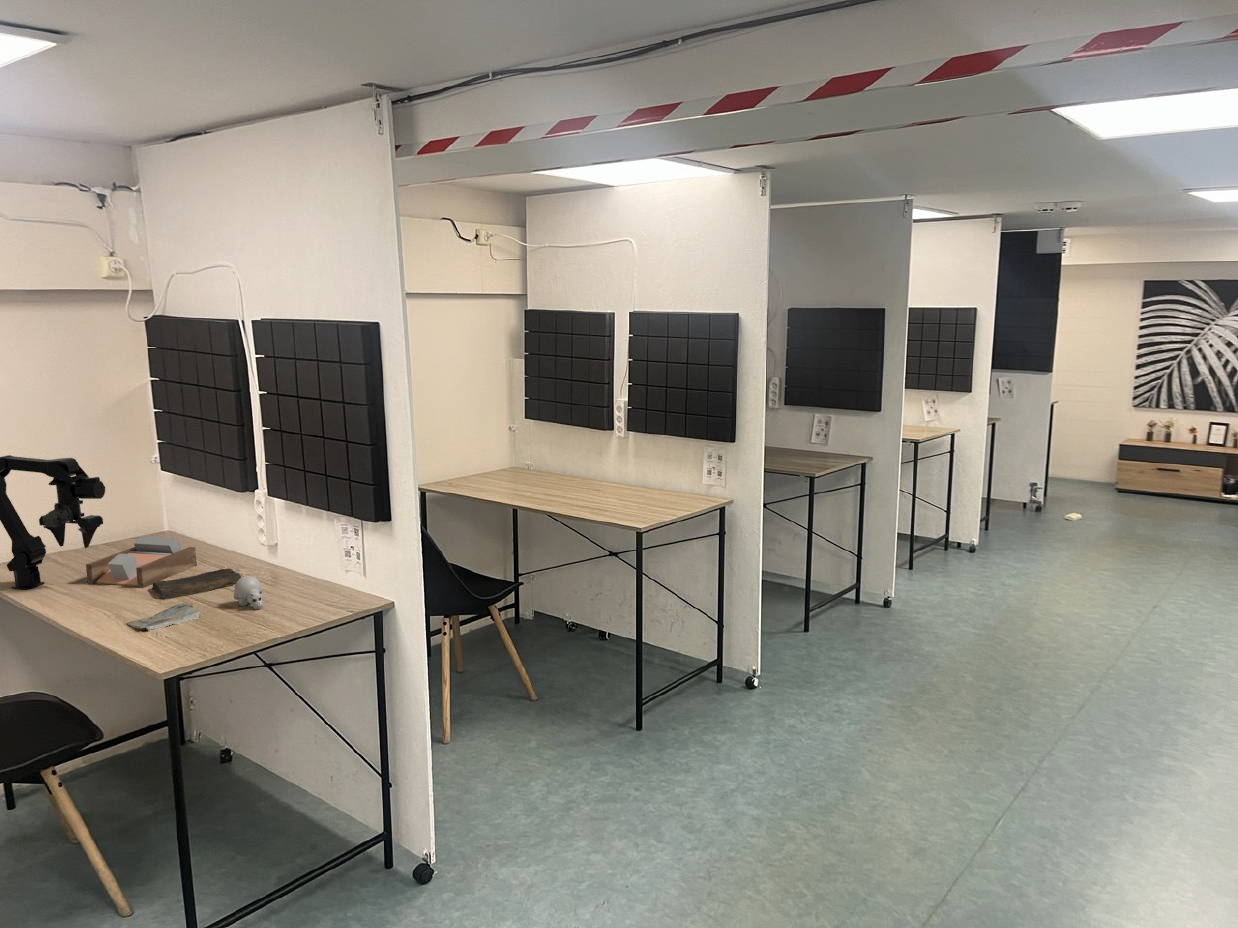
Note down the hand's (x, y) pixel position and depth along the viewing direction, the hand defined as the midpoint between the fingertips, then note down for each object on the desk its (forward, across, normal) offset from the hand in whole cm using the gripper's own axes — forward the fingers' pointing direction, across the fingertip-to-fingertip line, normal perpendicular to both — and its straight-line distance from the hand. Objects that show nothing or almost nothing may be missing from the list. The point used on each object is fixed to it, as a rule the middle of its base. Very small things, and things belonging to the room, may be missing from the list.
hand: (74, 546), depth 271 cm
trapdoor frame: (+13, +11, +16) cm, 23 cm away
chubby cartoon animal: (+13, +65, -5) cm, 67 cm away
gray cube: (+11, +11, +8) cm, 17 cm away
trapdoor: (+11, +11, +15) cm, 22 cm away
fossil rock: (+14, +48, -20) cm, 53 cm away
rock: (+14, +38, +8) cm, 41 cm away
